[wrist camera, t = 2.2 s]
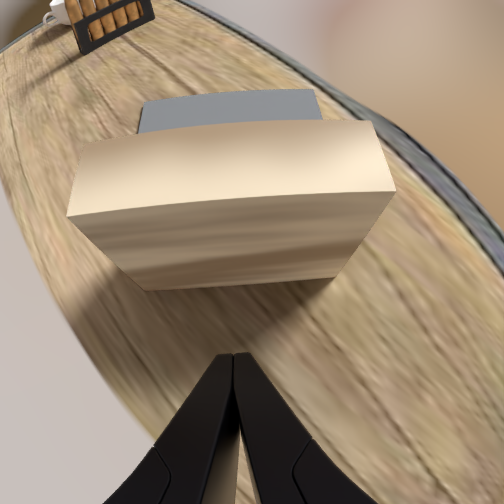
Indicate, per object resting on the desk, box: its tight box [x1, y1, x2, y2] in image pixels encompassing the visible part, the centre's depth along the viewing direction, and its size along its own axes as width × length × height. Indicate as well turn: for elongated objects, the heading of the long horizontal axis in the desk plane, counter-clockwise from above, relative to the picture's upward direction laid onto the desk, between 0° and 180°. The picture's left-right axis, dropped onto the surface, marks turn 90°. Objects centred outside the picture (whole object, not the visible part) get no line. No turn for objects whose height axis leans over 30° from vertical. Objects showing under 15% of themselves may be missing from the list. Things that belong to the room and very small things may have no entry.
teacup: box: [43, 0, 96, 26], centre depth 33 cm, size 10×8×5 cm
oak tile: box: [66, 120, 396, 291], centre depth 16 cm, size 4×12×10 cm, turn 94°
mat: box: [138, 89, 323, 134], centre depth 24 cm, size 13×15×1 cm
